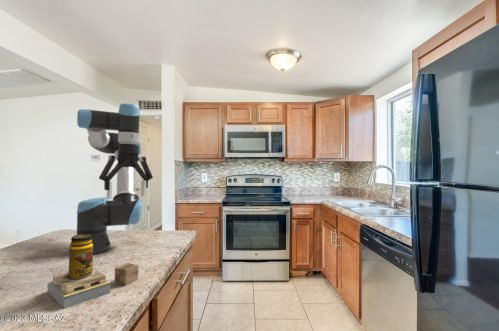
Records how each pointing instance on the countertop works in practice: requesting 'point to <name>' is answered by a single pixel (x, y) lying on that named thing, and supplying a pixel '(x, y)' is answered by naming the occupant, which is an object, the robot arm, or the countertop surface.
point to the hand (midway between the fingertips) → (127, 197)
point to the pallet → (78, 282)
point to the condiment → (80, 259)
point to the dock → (77, 293)
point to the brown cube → (126, 274)
